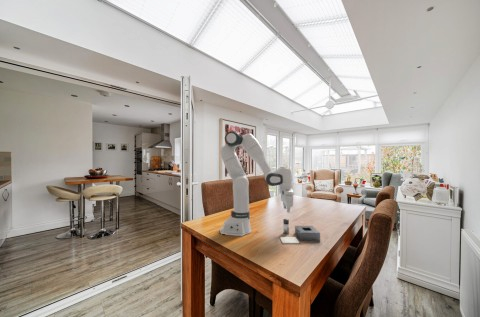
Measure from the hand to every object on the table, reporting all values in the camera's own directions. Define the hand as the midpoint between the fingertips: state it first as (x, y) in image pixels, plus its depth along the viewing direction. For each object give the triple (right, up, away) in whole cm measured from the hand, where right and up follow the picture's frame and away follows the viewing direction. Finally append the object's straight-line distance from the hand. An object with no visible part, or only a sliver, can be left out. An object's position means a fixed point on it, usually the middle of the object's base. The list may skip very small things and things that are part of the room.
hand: (286, 210), depth 120 cm
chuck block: (+11, -15, -7) cm, 20 cm away
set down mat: (-2, -15, -12) cm, 20 cm away
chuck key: (0, -16, 0) cm, 15 cm away
